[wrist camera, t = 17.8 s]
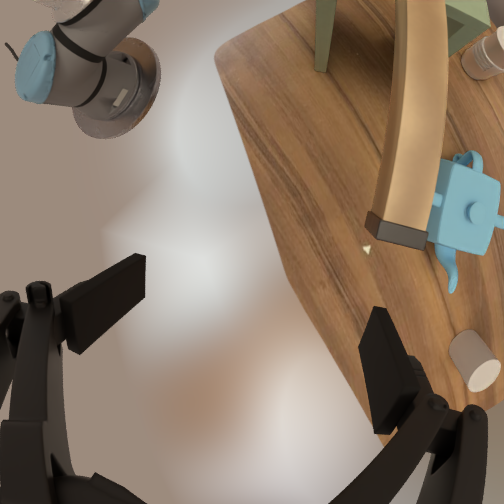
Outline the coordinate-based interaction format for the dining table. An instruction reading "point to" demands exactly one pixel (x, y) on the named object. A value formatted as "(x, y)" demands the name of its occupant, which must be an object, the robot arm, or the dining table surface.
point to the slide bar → (413, 125)
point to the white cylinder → (474, 360)
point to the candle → (485, 56)
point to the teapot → (463, 211)
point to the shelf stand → (458, 26)
